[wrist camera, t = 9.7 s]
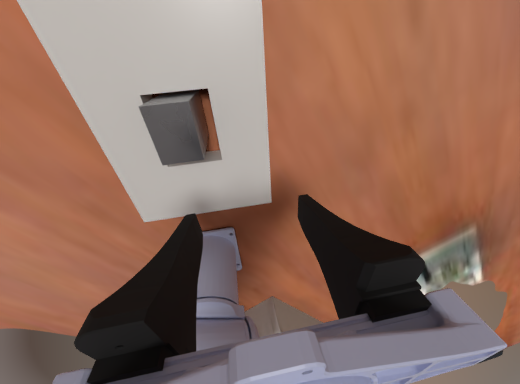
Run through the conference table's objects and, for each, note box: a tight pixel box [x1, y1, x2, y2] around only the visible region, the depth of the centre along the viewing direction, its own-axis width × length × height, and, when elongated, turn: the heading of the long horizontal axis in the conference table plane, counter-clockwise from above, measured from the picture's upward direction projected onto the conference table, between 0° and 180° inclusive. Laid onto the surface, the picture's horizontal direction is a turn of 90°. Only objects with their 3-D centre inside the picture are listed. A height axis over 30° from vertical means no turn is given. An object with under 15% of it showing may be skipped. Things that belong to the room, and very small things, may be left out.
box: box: [244, 296, 323, 337], centre depth 47 cm, size 23×8×32 cm
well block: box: [17, 0, 272, 222], centre depth 17 cm, size 18×14×2 cm
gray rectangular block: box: [139, 89, 209, 165], centre depth 15 cm, size 4×3×6 cm
